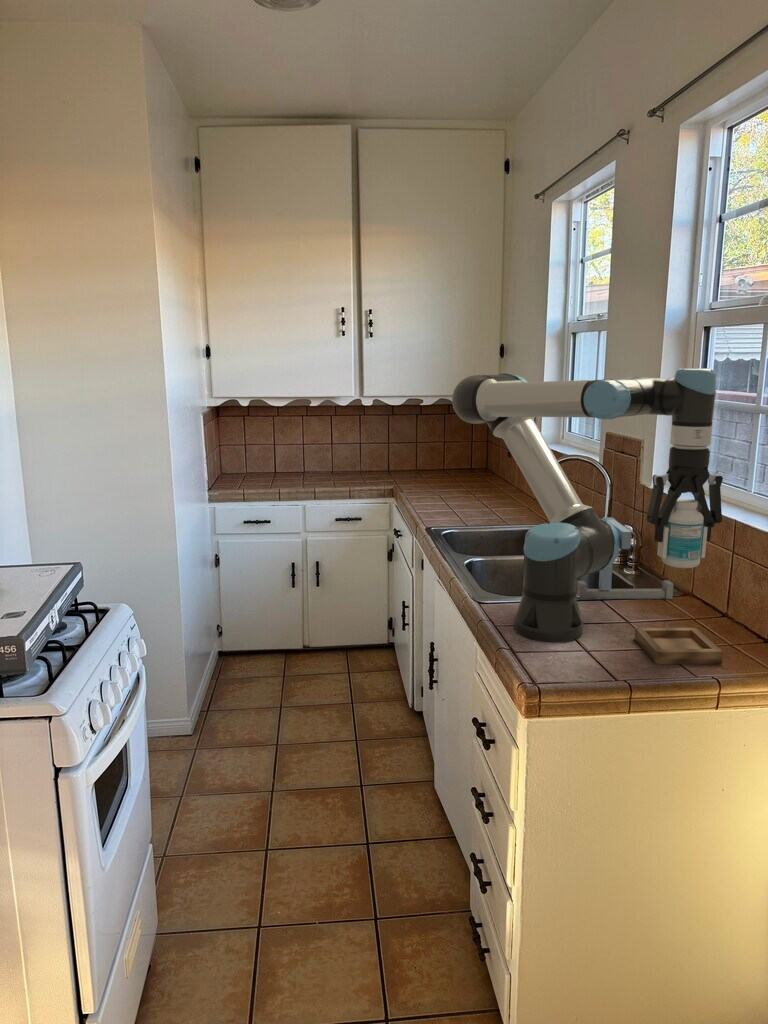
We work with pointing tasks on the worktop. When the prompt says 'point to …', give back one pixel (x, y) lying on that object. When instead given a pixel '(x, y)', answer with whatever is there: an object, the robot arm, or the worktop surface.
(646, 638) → the open box
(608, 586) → the bar
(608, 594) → the gate rail
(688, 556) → the pill bottle
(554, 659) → the worktop surface
